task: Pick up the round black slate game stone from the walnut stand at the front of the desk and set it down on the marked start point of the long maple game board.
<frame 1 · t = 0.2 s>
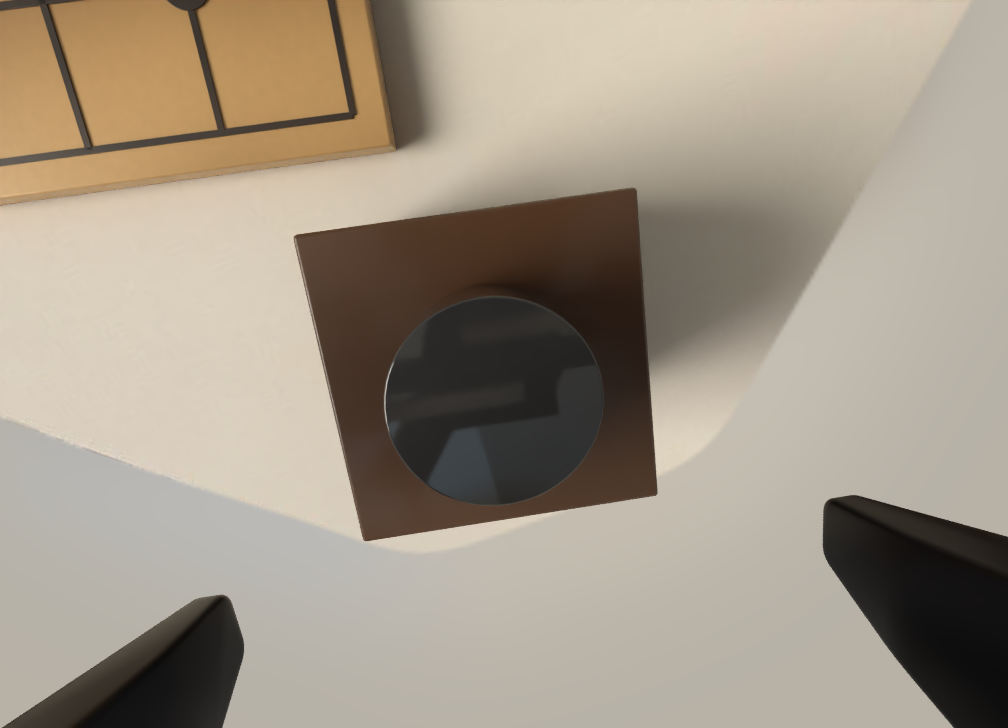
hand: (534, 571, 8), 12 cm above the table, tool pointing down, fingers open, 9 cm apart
stone stand: (482, 318, 19), on the table
game stone: (490, 377, 11), point 8 cm above the table, touching stone stand
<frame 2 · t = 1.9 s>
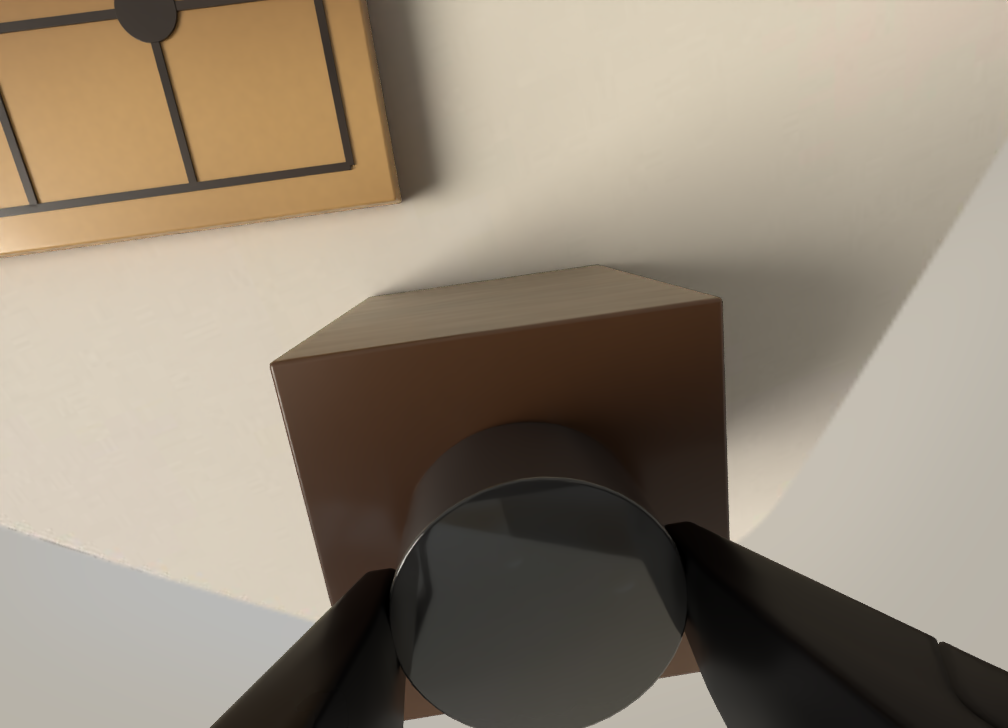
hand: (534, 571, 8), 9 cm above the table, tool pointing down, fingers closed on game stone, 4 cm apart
stone stand: (500, 391, 17), on the table
game stone: (525, 532, 9), point 8 cm above the table, touching gripper, stone stand
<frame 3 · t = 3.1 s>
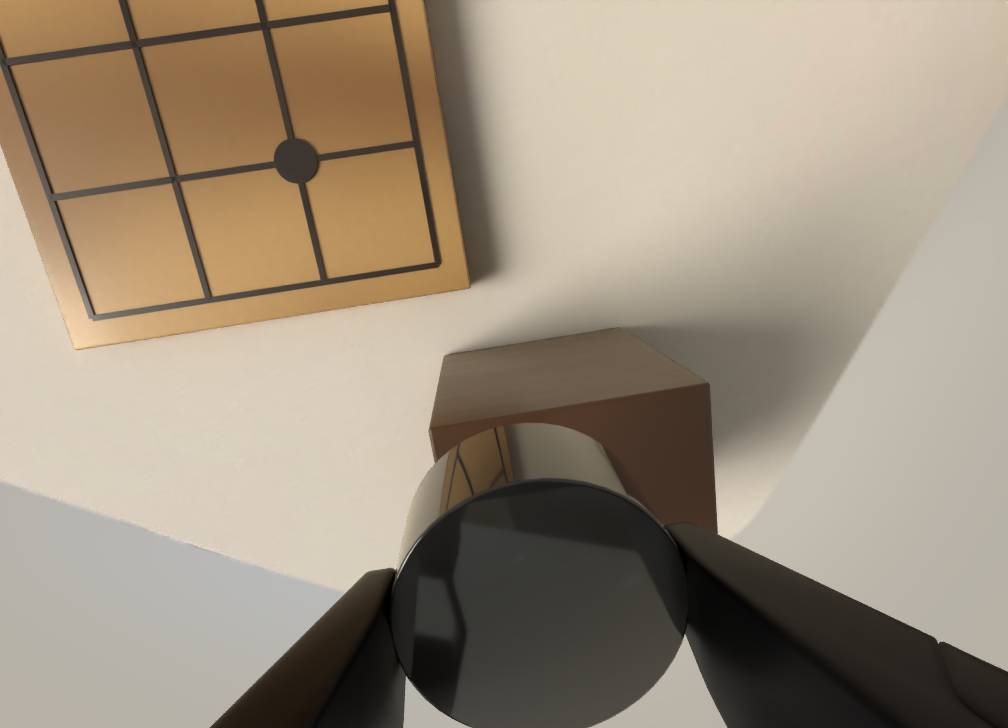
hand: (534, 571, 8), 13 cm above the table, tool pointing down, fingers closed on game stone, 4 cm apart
stone stand: (543, 424, 21), on the table
game stone: (526, 533, 9), point 12 cm above the table, touching gripper
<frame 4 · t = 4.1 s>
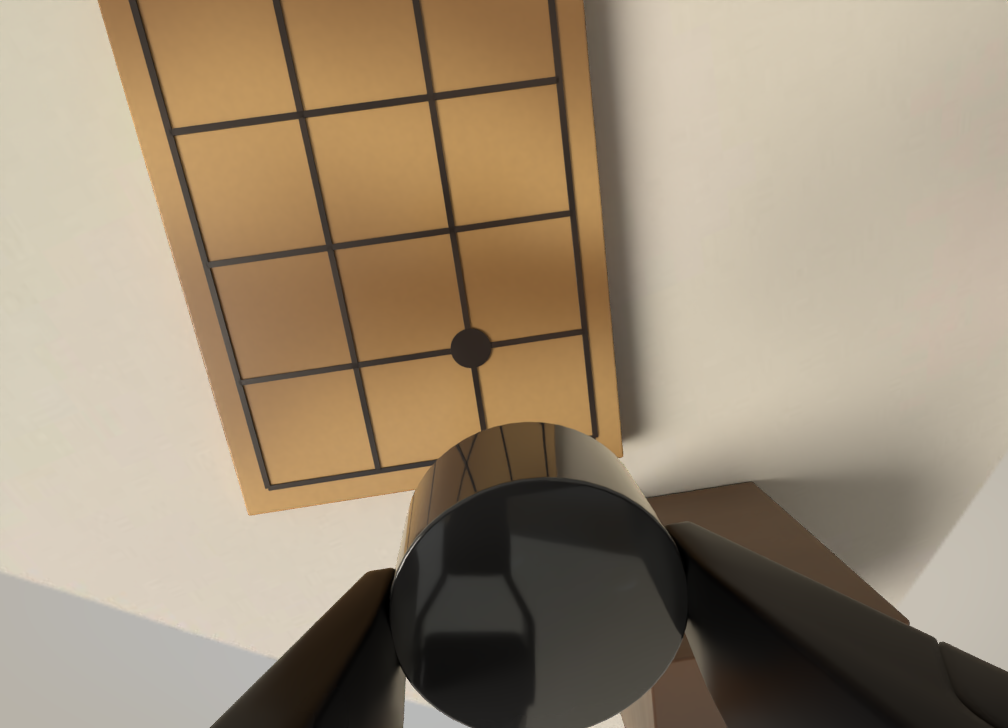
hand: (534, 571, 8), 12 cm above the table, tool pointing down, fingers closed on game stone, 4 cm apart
stone stand: (673, 567, 22), on the table
game stone: (525, 533, 9), point 11 cm above the table, touching gripper
board: (354, 11, 17), on the table
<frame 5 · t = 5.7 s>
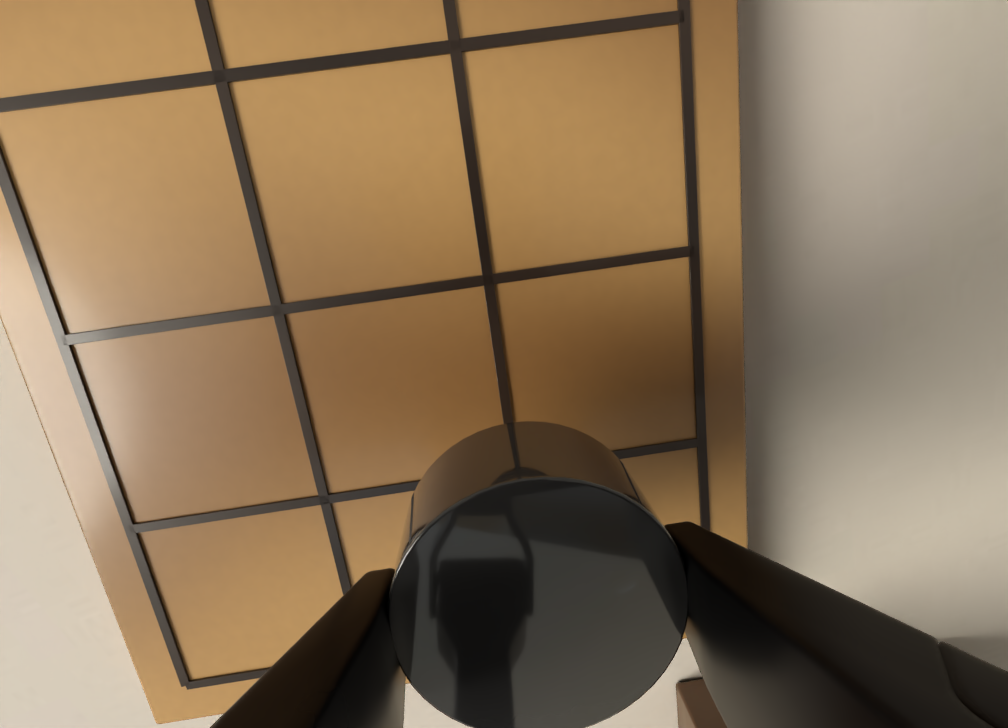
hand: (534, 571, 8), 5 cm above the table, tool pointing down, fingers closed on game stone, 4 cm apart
game stone: (525, 532, 9), point 4 cm above the table, touching gripper
when the fingers open (2 cm above the table, at t = 6.7 s): game stone stays where it is, resting on board.
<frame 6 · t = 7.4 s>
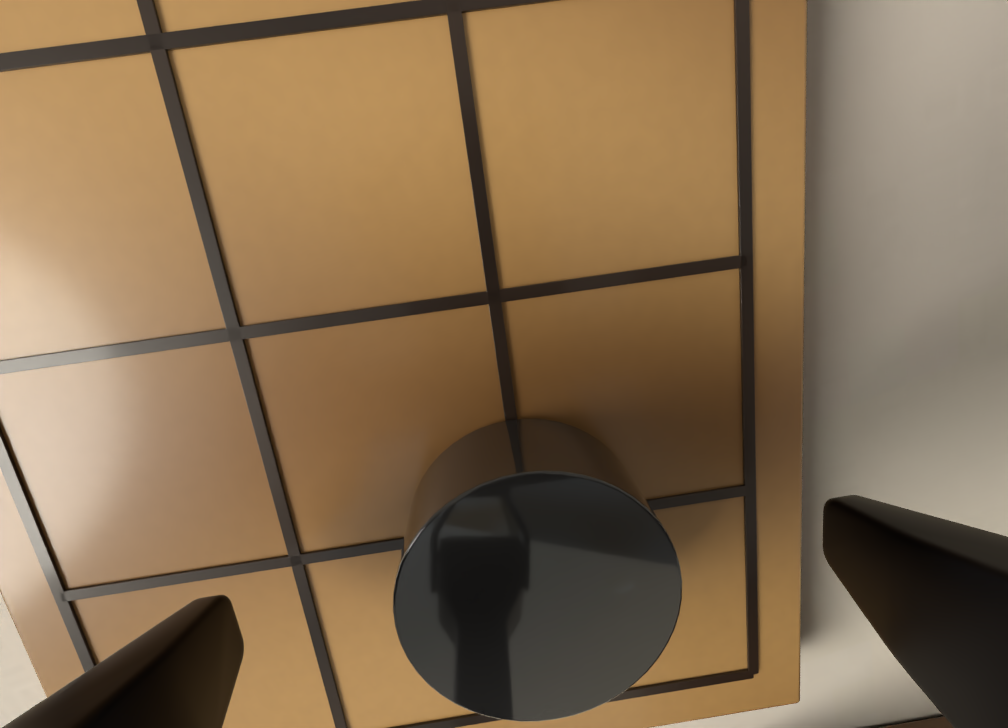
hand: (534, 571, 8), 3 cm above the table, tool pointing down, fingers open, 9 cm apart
game stone: (525, 526, 9), point 1 cm above the table, touching board
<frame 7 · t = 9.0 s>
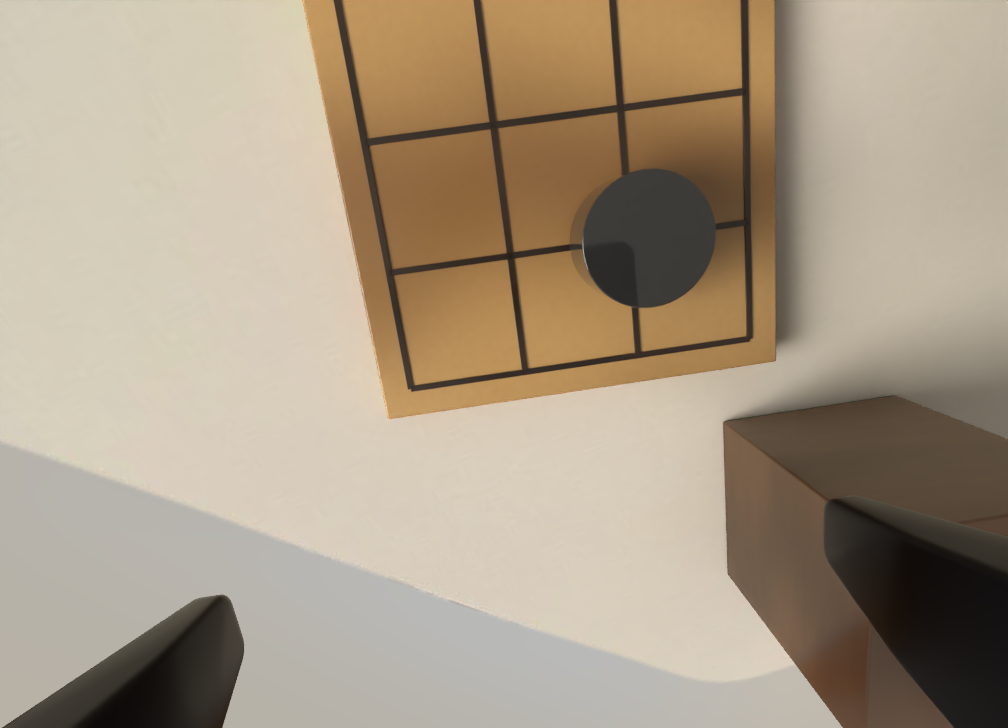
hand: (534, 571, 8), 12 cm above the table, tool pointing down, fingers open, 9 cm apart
stone stand: (808, 487, 22), on the table
game stone: (629, 239, 17), point 1 cm above the table, touching board
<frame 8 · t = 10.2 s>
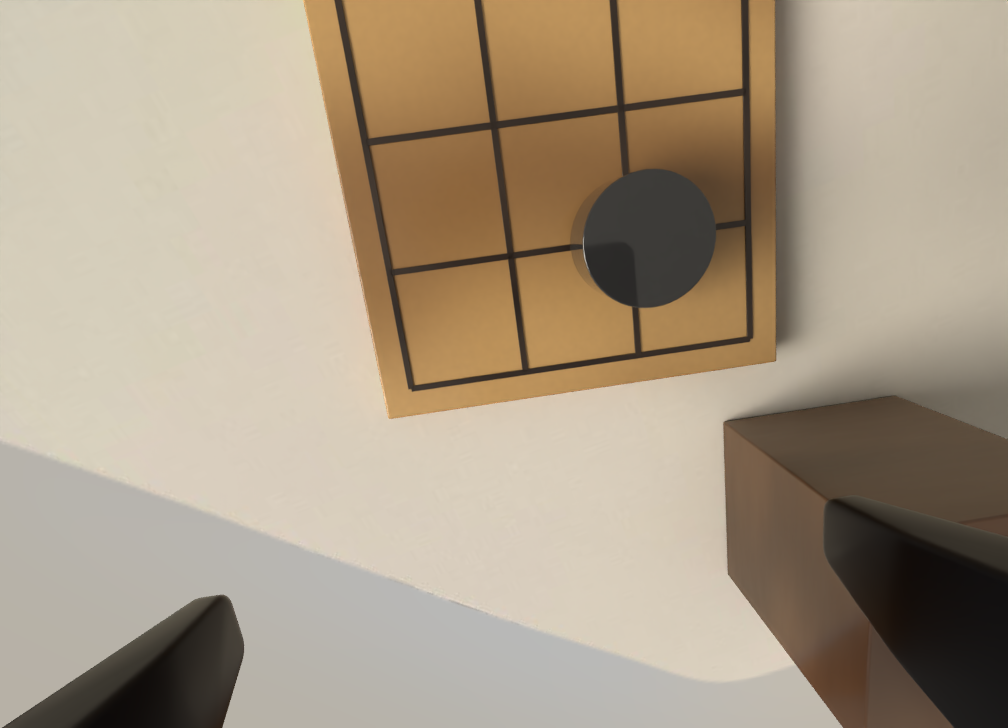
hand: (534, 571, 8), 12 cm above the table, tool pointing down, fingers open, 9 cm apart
stone stand: (808, 487, 22), on the table
game stone: (630, 239, 17), point 1 cm above the table, touching board
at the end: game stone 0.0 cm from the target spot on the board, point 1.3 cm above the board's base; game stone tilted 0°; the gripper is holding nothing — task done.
